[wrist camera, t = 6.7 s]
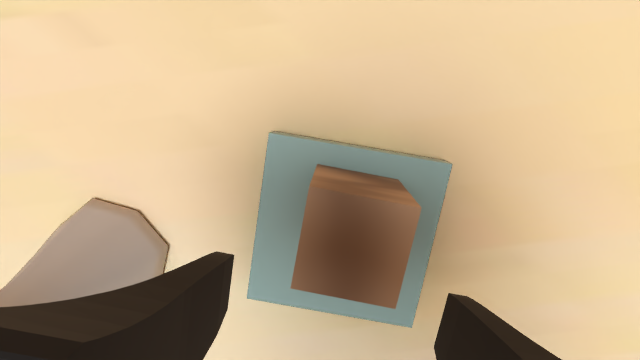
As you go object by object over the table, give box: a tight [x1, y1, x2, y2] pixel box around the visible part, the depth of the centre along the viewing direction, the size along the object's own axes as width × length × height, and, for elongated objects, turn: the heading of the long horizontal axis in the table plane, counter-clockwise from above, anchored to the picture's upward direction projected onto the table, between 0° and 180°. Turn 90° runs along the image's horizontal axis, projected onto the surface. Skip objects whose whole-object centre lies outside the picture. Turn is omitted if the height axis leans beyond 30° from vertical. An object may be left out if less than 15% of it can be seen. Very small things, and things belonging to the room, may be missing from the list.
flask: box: [0, 198, 168, 307], centre depth 18 cm, size 7×7×10 cm
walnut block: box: [290, 164, 422, 309], centre depth 17 cm, size 4×4×6 cm
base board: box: [247, 131, 452, 328], centre depth 21 cm, size 10×10×2 cm
